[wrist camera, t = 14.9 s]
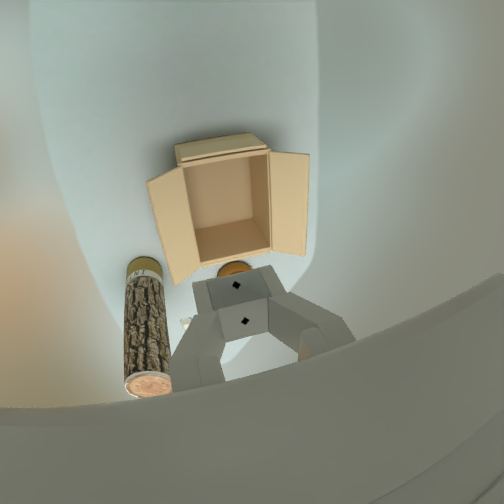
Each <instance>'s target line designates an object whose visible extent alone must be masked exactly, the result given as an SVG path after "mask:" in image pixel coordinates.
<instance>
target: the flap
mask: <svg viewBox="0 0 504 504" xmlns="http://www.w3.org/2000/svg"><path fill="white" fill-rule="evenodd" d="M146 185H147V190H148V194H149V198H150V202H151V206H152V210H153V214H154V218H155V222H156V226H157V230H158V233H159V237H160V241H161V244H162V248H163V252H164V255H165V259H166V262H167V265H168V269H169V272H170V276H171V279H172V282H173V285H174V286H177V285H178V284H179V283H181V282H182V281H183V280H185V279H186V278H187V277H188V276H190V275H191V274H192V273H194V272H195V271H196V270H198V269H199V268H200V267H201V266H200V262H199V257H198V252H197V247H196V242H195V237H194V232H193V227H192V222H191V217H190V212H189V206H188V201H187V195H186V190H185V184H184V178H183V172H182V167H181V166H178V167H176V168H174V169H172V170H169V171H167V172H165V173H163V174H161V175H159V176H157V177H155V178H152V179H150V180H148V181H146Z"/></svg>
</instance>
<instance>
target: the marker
mask: <svg viewBox="0 0 504 504" xmlns="http://www.w3.org/2000/svg"><path fill="white" fill-rule="evenodd" d="M190 322H191V319H190V318H189V317H188V318H185V319H182V320H181V325H182V327H183V329H184V331H186V330H187V328H188V326H189V324H190Z"/></svg>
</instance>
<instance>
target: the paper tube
mask: <svg viewBox="0 0 504 504" xmlns="http://www.w3.org/2000/svg"><path fill="white" fill-rule="evenodd" d="M170 359H171V351H170V344H169V336H168V327H167V318H166V309H165V299H164V287H163V277H162V269H161V266H160V265H159V264H158V263H157V262H156V261H155V260H153V259H151V258H146V257H143V258H138V259H136V260H134V261H132V262H131V263H130V264H129V266H128V269H127V277H126V290H125V312H124V380H125V389H126V391H127V392H128V393H129V394H131V395H133V396H135V397H138V398H146V397H152V396H158V395H164V394H170V393H172V387H171V380H170V372H169V365H168V363H169V361H170Z"/></svg>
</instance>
